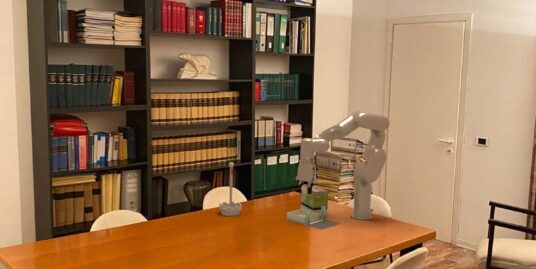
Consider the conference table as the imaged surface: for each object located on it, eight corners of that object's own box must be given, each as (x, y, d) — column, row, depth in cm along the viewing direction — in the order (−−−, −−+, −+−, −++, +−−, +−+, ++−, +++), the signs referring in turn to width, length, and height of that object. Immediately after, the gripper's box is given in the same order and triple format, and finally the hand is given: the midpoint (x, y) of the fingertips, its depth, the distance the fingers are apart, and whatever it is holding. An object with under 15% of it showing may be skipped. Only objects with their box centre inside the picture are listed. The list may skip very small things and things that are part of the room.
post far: (322, 219, 294) (323, 205, 293) (326, 220, 292) (326, 206, 291) (320, 220, 292) (320, 206, 291) (323, 221, 290) (324, 207, 289)
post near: (307, 224, 284) (307, 209, 283) (310, 225, 282) (311, 210, 281) (304, 225, 282) (304, 210, 281) (307, 226, 280) (308, 211, 279)
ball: (304, 191, 293) (305, 183, 293) (311, 193, 290) (312, 184, 289) (299, 193, 290) (299, 184, 289) (306, 194, 286) (306, 185, 286)
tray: (301, 214, 302) (302, 208, 302) (320, 219, 293) (320, 213, 293) (286, 218, 292) (286, 212, 292) (305, 223, 283) (305, 217, 283)
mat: (302, 214, 304) (302, 213, 304) (340, 224, 286) (340, 223, 286) (283, 219, 292) (283, 218, 292) (321, 230, 273) (321, 229, 273)
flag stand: (217, 211, 306) (217, 160, 302) (238, 209, 310) (239, 160, 306) (221, 217, 293) (222, 164, 290) (244, 215, 297) (245, 163, 294)
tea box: (300, 210, 311) (301, 186, 310) (314, 209, 316) (316, 185, 314) (312, 216, 298) (314, 191, 296) (327, 215, 302) (329, 190, 301)
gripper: (323, 162, 285) (322, 194, 287) (299, 158, 296) (297, 189, 298) (315, 163, 279) (313, 196, 281) (290, 159, 291) (289, 191, 293)
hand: (305, 192), depth 290 cm, fingers closed on ball, 4 cm apart
